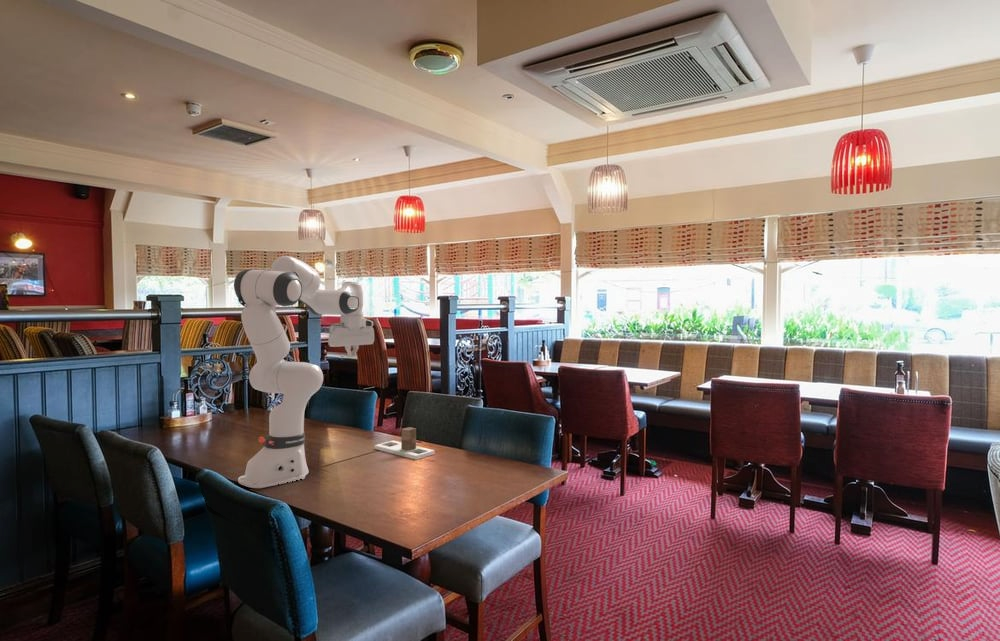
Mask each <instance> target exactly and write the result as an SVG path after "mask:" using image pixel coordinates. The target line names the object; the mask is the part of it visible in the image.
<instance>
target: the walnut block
mask: <svg viewBox="0 0 1000 641" xmlns="http://www.w3.org/2000/svg"><path fill="white" fill-rule="evenodd" d="M400 440H401V441H400V442H401V449H403V450H407V451H409V450H413V449H416V446H417V428H414V427H411V426H410V427H405V428H401V439H400Z"/></svg>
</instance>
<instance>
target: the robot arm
mask: <svg viewBox="0 0 1000 641" xmlns="http://www.w3.org/2000/svg"><path fill="white" fill-rule="evenodd" d="M320 287H321V275H320V274H319V272H318V271H317V270H316V269H315V268H314V267H312V266H311V265H309V264H308V263H306V262H305V261H303V260H301V259H299V258H295V257H293V256H290V255H282V256H278V257H277V258H276V259H275V260H274V261H273V263H272V264H271V266H270V269H254V268H249V269H244V270H242V271H239V272H238V273H237V274H236V276H235V278H234V281H233V289H234V293H235V295H236V297H237V299H238V302H239V304H240V305H241V306H243V307H244V308H243V310H242V311H241V313H240V314H241V315H240V318H241V319H240V320H241V323H242V327H243V329H244V332H245V333H244V334H245V335H246V337H247V339H248V342H249V344H250V346H251V348H252V350H253V353H254V355H255V359H256V363H255V364H254V365H253V366H252V367H251V369H250V371H249V375H248V376H249V377H248V379H249V384H250V386H251V387H252V388H253V389H254V390H257V391H260V392H263V393H267V394H283V398H282V402H281V403H280V404H278V405H275V406H274V407H273V408H272V409H271V411H270V412H269V415H268V416H269V417H268V419H269V420H268V425H269V427H268V428H269V430H268V431H269V433H268V435H267V437H264V436H259V437H258V440H257V441H258V443H260V444H264V445H263V447H262V448H261V449H260V450H259V451H258V452H257V453H256V454H254V456H252V457H251V458H250V459H249V460H248V461H247V462H246V466H245V467H246V468H245V472H244V475H240V476H239V477H238V479H237V482H238V484H240V485H242V486H245V487H248V488H252V489H264V488H268V487H273V486H278V484H279V485H282V484H283V485H284V484H288V483H292V481H293V482H297V481H296V480H298V481H301V480H300V479H302V480H305V478H306V476H307V475H308V474H309V472H310V471H309V468H308V465H307V460H306V452H305V445H306V432H305V431H304V429H305V428H304V426H305V410H306V407H307V405H308V402H309V400H310V399H311V398H312V396H314V394H316V393H317V392H318V391H319V390H320V389H321V387H322V386H323V382H324V374H323V371H322V369H321V367H320V366H319V365H316V364H313V363H310V362H306V361H288V360H286V359H284V358H286V357H287V356H288V354H289V353H290V351H291V342H290V340H289V338H288V335H287V332H286V331H285V329H284V328H285V327H284V326H283V324H282V322H281V320H280V318H279V317H278V315H277V312H276V310H277V309H276V308H277V307H276V306H281V307H290V306H293V305H296V303H298V302H299V301H300V302H301V303H302V304H304V305H305V306H306V308H307V309H308V311H309V312H310V313H311V314H313V315H314V316H323V315H327V316H328V315H329V316H335V315H336V316H340V322H338V323H337V322H334V323H332V324H330V326H329V333H328V340H327V341H328V342H327V344H328V346H329V347H333V348H336V347H337V348H338V347H339V348H340V347H344V349H345V351H346V352H347V358H353V357H354V358H356V357H357V352H358V350H359V347H360V346H366V345H367V346H368V345H373V344H374V342H375V329H374V327H373V326H374V321H373V320H370V319H367V318H365V317H364V312H363V307H364V293H363V292H364V290H363V287H362V284H360V283H358V282H355V281H344V282H342V284H341V287H340V288H338V289H320ZM351 349H352V350H351ZM287 482H288V483H287Z"/></svg>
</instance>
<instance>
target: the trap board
mask: <svg viewBox="0 0 1000 641" xmlns="http://www.w3.org/2000/svg"><path fill="white" fill-rule="evenodd" d="M373 449H374V450H378V451H380V452H384V453H388V454H392V455H396V456H400V457H405V458H407V459H411V460H414V461H415V460H420V459H424V458H426V457H430V456H434V455H435V453H436V452H435V451H436V450H434V449H430V448H427V447H422V446H419V445H418V446H417V445H416V449H413V450H409V451H407V450H403V449H401V441H398V440H394V439H393V440H390V441H385V442H382V443H378V444H375V445H374V448H373Z"/></svg>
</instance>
